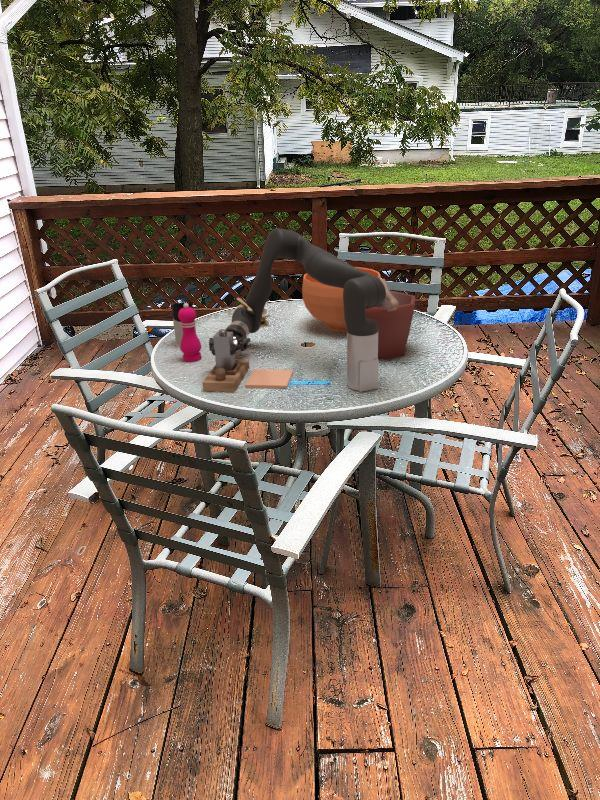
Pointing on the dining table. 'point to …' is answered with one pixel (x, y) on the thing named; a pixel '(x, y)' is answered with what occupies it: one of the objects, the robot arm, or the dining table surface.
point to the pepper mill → (189, 335)
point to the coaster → (269, 378)
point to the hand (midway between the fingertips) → (222, 352)
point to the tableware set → (244, 305)
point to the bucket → (392, 322)
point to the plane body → (226, 377)
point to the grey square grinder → (224, 350)
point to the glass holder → (178, 321)
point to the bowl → (327, 301)
